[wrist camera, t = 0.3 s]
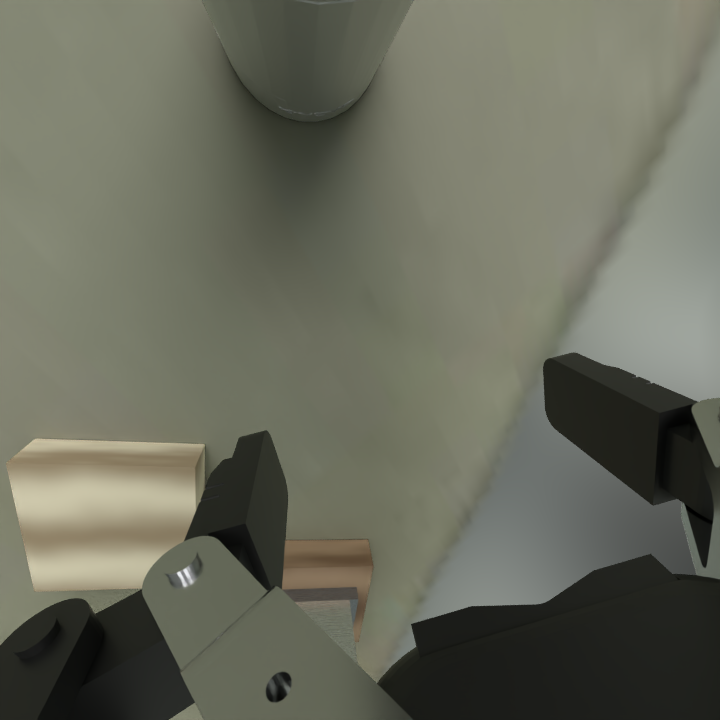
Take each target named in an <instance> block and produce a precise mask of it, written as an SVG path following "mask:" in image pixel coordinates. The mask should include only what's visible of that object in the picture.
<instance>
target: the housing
mask: <svg viewBox="0 0 720 720" xmlns="http://www.w3.org/2000/svg"><path fill="white" fill-rule="evenodd" d="M283 591H284V592H285V593H286V594H287V595H288V596H289V597H290V598H291V599H292V600H293V601H294V602H295V603H296V604H297V605H298V606H299V607H300V608H301V609H302V610H303V611H304V612H305V613H306V614H307V615H308V616H309V617H310V618H311V619H312V620H313V621H314V622H315V623H316V624H317V625H318V626H319V627H320V628H321V629H322V630H323V631H324V632H325V633H326V634H327V635H328V636H329V637H330V638H331V639H332V640H333V641H334V642H335V643H336V644H338V645H339V646H340V647H341V648H342V649H343V650H344V651H345V652H346V653H347V654H348V655H349V656H350V657H351V658H352V659H353V660H354V661H355V662H356V663H357V656H356V648H355V640H354V632H353V626H354V621H355V615H356V610H357V605H358V593H357V587H341V588H313V589H284V590H283Z"/></svg>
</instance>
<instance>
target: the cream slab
mask: <svg viewBox="0 0 720 720" xmlns="http://www.w3.org/2000/svg"><path fill="white" fill-rule="evenodd" d="M6 465H7V470H8V474H9V479H10V483H11V488H12V492H13V497H14V501H15V506H16V510H17V515H18V520H19V524H20V529H21V533H22V538H23V542H24V547H25V551H26V556H27V560H28V565H29V569H30V574H31V578H32V583H33V587H34V592H43V591H74V590H105V589H136V588H142V585H143V581H144V579H145V576H146V575H147V573H148V571H149V570H150V568H151V567H152V566H153V564H154V563H155V562H156V561H157V560H158V559H159V558H160V557H161V556H162V555H164V554H165V553H166V552H167V551H169V550H170V549H171V548H173V547H175V546H176V545H178V544H180V543H182V542H184V540H185V537H186V535H187V532H188V530H189V527H190V525H191V522H192V520H193V517H194V515H195V512H196V510H197V507H198V505H199V502H201V497H202V494H203V492H204V490H205V444H185V443H155V442H124V441H94V440H63V439H34V440H33V441H32V442H31V443H29V444H28V445H27V446H26V447H25V448H23V449H22V450H21V451H20V452H19V453H17V454H16V455H15V456H14V457H13V458H11V459H10V460H9V461H8V462H7V463H6Z"/></svg>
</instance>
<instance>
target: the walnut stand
mask: <svg viewBox="0 0 720 720" xmlns="http://www.w3.org/2000/svg"><path fill="white" fill-rule="evenodd" d="M372 571H373V561H372V557H371V552H370V547H369V542H368V539H366V540H285V552H284V567H283V581H282V590H284V589H313V588H341V587H357V593H358V605H357V610H356V615H355V621H354V626H353V632H354V640H355V642H359V637H360V632H361V627H362V622H363V617H364V612H365V607H366V602H367V597H368V592H369V586H370V581H371V576H372Z"/></svg>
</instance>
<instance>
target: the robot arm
mask: <svg viewBox="0 0 720 720" xmlns="http://www.w3.org/2000/svg"><path fill="white" fill-rule="evenodd" d="M413 1H414V0H202V2H203V4H204V6H205V8H206V10H207V13H208V15H209V17H210V19H211V21H212V23H213V26H214V28H215V30H216V32H217V35H218V37H219V39H220V41H221V43H222V46H223V48H224V50H225V52H226V54H227V56H228V58H229V60H230V63H231V65H232V67H233V68H234V70H235V72H236V73H237V75H238V77H239V78H240V80H241V82H242V83H243V85H244V86H245V87H246V88H247V89H248V90H249V92H250V93H251V94H252V95H253V96H254V97H255V98H256V99H257V100H258V101H259V102H261V103H262V104H263V105H264V106H266V107H267V108H268V109H269V110H271V111H273V112H275V113H277V114H279V115H281V116H283V117H285V118H289V119H293V120H297V121H301V122H318V121H322V120H326V119H330V118H333V117H335V116H337V115H339V114H341V113H343V112H345V111H346V110H347V109H349V108H350V107H351V106H352V105H353V104H354V103H355V102H357V101H358V100H359V98H360V97H361V96H362V94H363V93H364V92H365V90H366V89H367V87H368V86H369V84H370V82H371V80H372V78H373V77H374V75H375V73H376V71H377V69H378V67H379V65H380V64H381V62H382V60H383V58H384V56H385V54H386V52H387V50H388V48H389V47H390V45H391V43H392V41H393V39H394V37H395V35H396V33H397V31H398V29H399V27H400V26H401V24H402V22H403V20H404V18H405V16H406V14H407V12H408V10H409V8H410V6H411V4H412V3H413ZM543 375H544V396H545V411H546V415H547V417H548V420H549V422H550V423H551V425H552V426H553V427H554V428H555V429H556V430H557V431H558V432H559V433H561V434H562V435H563V436H565V437H566V438H567V439H568V440H570V441H571V442H573V443H574V444H575V445H576V446H577V447H579V448H580V449H581V450H583V451H584V452H585V453H586V454H588V455H589V456H590V457H591V458H593V459H594V460H595V461H597V462H598V463H599V464H600V465H602V466H603V467H604V468H605V469H607V470H608V471H609V472H611V473H612V474H613V475H615V476H616V477H617V478H618V479H620V480H621V481H622V482H623V483H625V484H626V485H627V486H629V487H630V488H631V489H632V490H634V491H635V492H636V493H638V494H639V495H640V496H641V497H643V498H644V499H645V500H647V501H648V502H649V503H650V504H652V505H656V504H661V503H664V502H667V501H671V500H675V499H679V500H680V501H682V508H681V517H682V521H683V525H684V529H685V533H686V536H687V540H688V544H689V548H690V552H691V556H692V559H693V563H694V567H695V571H696V575H685V574H672V573H671V572H669V571H668V570H667V569H666V568H665V567H664V566H663V565H662V564H661V563H660V562H659V561H658V560H657V559H656V558H654V557H653V556H652V555H651V554H649V555H646V556H642V557H638V558H635V559H632V560H628V561H625V562H622V563H618V564H615V565H611V566H608V567H604V568H601V569H598V570H594V571H592V572H591V573H589V574H588V575H586V576H585V577H584V578H582V579H580V580H579V581H578V582H576V583H575V584H573V585H572V586H570V587H569V588H567V589H566V590H564V591H563V592H561V593H560V594H558V595H557V596H555V597H554V598H552V599H551V600H549V601H547V602H546V603H543V604H537V605H505V606H504V605H503V606H471V607H468V608H464V609H461V610H458V611H454V612H451V613H447V614H444V615H441V616H438V617H434V618H430V619H427V620H424V621H420V622H417V623H413V624H411V626H412V630H413V634H414V638H415V642H416V647H415V648H414V649H413V650H411V651H410V652H408V653H407V654H405V655H404V656H403V657H402V658H401V659H399V660H398V661H397V662H396V663H395V664H394V665H393V666H391V668H390V669H389V670H388V671H387V672H386V673H385V674H384V675H383V676H382V678H381V679H380V680H379V681H378V683H376V682H375V681H374V680H373V679H372V678H371V677H370V676H369V675H368V674H367V673H366V672H365V671H364V670H363V669H362V668H361V667H360V666H359V665H358V664H357V663H356V662H355V661H354V660H353V659H352V658H351V657H350V656H349V655H348V654H347V653H346V652H345V651H344V650H343V649H342V648H341V647H340V646H339V645H338V644H336V643H335V642H334V641H333V640H332V639H331V638H330V637H329V636H328V635H327V634H326V633H325V632H324V631H323V630H322V629H321V628H320V627H319V626H318V625H317V624H316V623H315V622H314V621H313V620H312V619H311V618H310V617H309V616H308V615H307V614H306V613H305V612H304V611H303V610H302V609H301V608H300V607H299V606H298V605H297V604H296V603H295V602H294V601H293V600H292V599H291V598H290V597H289V596H288V595H287V594H286V593H285V592H284V591H283V590H282V581H283V567H284V552H285V538H286V523H287V509H288V491H287V485H286V480H285V477H284V474H283V471H282V468H281V465H280V462H279V459H278V456H277V453H276V450H275V447H274V444H273V441H272V438H271V436H270V434H269V432H268V431H267V430H266V431H262V432H258V433H254V434H250V435H246V436H242V437H240V438H239V439H238V442H237V445H236V448H235V451H234V454H233V457H232V458H229V459H225V460H223V461H222V462H221V463H220V464H219V465H218V466H217V467H216V469H215V470H214V471H213V472H212V473H211V474H210V477H209V479H208V482H207V484H206V487H205V488H206V490H204V492H203V494H202V497H201V502H199V505H198V507H197V510H196V512H195V515H194V517H193V520H192V522H191V525H190V527H189V530H188V532H187V535H186V537H185V540H184V542H182V543H180V544H178V545H176V546H175V547H173V548H171V549H170V550H169V551H167V552H166V553H165V554H164V555H162V556H161V557H160V558H159V559H158V560H157V561H156V562H155V563H154V564H153V566H152V567H151V568H150V570H149V571H148V573H147V575H146V576H145V579H144V581H143V585H142V590H140V591H138V592H136V593H135V594H133V595H131V596H129V597H127V598H125V599H123V600H121V601H119V602H117V603H115V604H114V605H112V606H110V607H108V608H106V609H104V610H102V611H100V612H98V613H96V614H95V613H94V612H93V610H92V609H91V607H90V605H89V604H88V603H87V602H86V601H85V600H83V599H78V598H75V599H68V600H64V601H61V602H59V603H56V604H54V605H52V606H50V607H48V608H46V609H44V610H42V611H41V612H39V613H37V614H36V615H34V616H33V617H31V618H30V619H29V620H27V621H26V622H25V623H23V624H22V625H21V626H20V627H19V628H18V629H16V630H15V631H14V632H13V633H12V634H11V635H10V636H9V637H8V638H7V639H6V640H5V641H4V642H3V643H2V644H1V645H0V720H169V719H170V718H172V717H173V716H175V715H176V714H178V713H179V712H181V711H183V710H184V709H186V708H187V707H189V706H190V705H192V704H193V703H196V705H197V707H198V709H199V711H200V713H201V715H202V717H203V719H204V720H720V398H713V399H707V400H702V401H700V402H697V401H694V400H692V399H690V398H688V397H685V396H683V395H681V394H678V393H676V392H673V391H671V390H669V389H666V388H664V387H662V386H659V385H657V384H655V383H652V384H651V383H650V381H648V380H645V379H643V378H641V377H636V375H634V374H631V373H629V372H627V371H624V370H622V369H620V368H616V367H611V366H606V365H603V364H601V363H598V362H596V361H594V360H591V359H589V358H586V357H585V356H582V355H580V354H578V353H569V354H565V355H561V356H557V357H553V358H549V359H547V360H546V361H545V362H544V366H543Z"/></svg>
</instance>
